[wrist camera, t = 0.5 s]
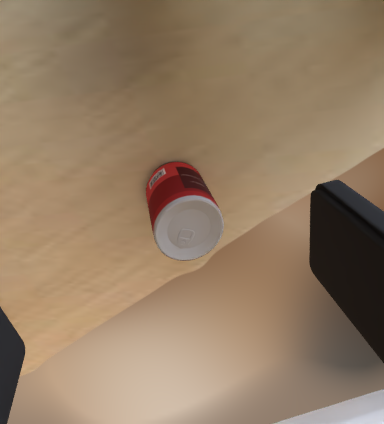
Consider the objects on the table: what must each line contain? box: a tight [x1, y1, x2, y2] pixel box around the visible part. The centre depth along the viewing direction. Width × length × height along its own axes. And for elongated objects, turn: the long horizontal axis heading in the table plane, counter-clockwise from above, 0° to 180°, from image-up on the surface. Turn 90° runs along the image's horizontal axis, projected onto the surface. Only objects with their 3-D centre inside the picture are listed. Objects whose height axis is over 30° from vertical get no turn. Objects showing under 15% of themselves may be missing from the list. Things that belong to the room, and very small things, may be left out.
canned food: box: [146, 162, 224, 261], centre depth 41 cm, size 8×8×11 cm
